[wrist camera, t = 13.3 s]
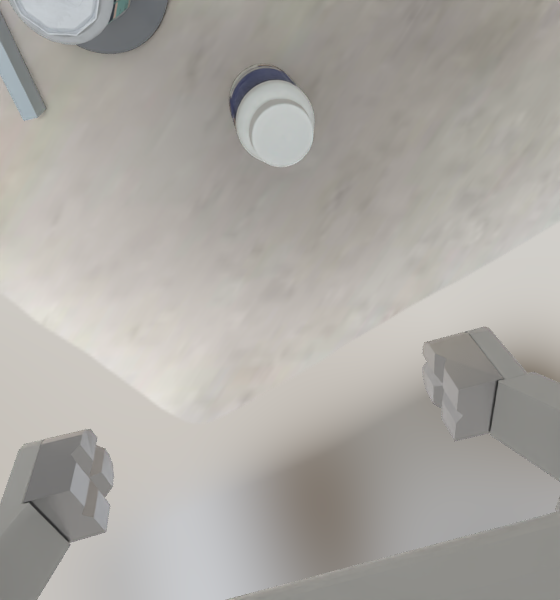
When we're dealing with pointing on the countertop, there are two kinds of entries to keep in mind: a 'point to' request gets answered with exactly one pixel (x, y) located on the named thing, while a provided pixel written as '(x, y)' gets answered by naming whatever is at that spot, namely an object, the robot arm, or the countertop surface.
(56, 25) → the beer can
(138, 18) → the coaster
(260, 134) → the pill bottle
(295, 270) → the countertop surface
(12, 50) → the divider wall
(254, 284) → the countertop surface
